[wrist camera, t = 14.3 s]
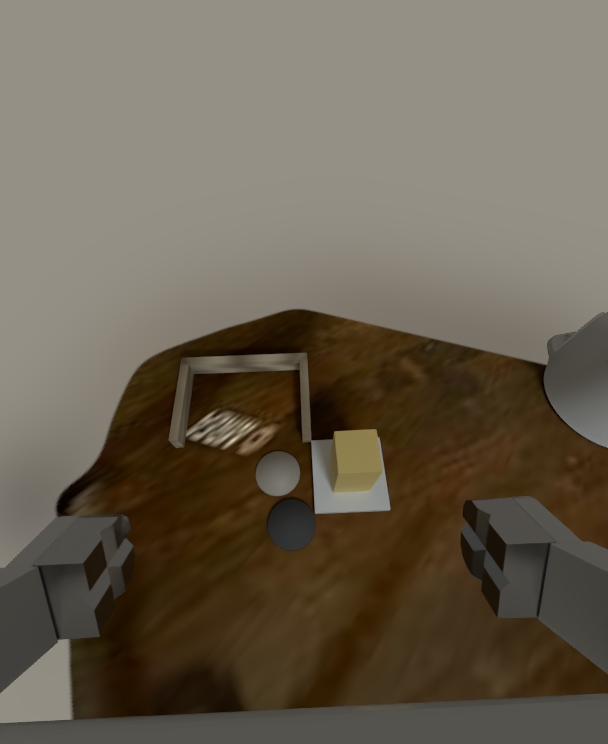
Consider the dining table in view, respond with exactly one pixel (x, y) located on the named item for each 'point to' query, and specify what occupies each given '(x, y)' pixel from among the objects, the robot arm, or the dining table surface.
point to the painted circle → (277, 473)
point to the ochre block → (355, 460)
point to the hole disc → (291, 524)
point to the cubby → (228, 366)
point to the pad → (345, 500)
